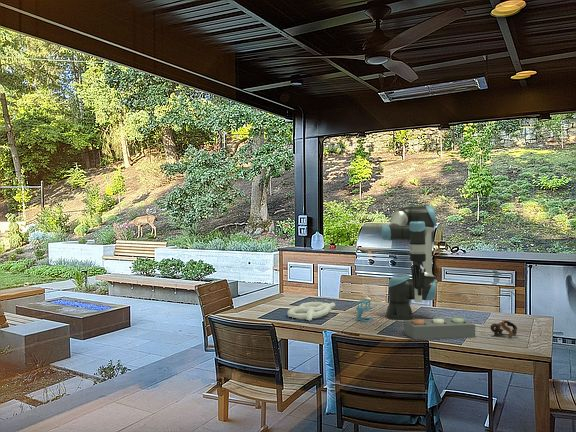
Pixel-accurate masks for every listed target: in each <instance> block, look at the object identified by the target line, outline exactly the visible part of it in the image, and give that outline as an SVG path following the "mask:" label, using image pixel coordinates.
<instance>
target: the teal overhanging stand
mask: <svg viewBox="0 0 576 432" xmlns="http://www.w3.org/2000/svg"><path fill="white" fill-rule="evenodd" d="M371 302H372V301H371V300H370V299H368V298H364V299H362V300H359V301H356V304H357V307H356V308H355V310H356V311H357V313H356V319H357V320H356V319H355V320H356V321H359V320H361V321H360V322H364V321H365V323H370V322H372V321H374V318H373V317H362V315H363V312H364V311H369V310H371V309H372V307H371ZM363 304H365V306H363ZM365 319H369V320H365ZM371 320H372V321H371ZM369 321H370V322H369Z"/></svg>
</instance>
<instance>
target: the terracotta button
mask: <svg viewBox="0 0 576 432" xmlns="http://www.w3.org/2000/svg"><path fill="white" fill-rule="evenodd" d="M412 320H413V324H414V325H424V320H425V319H419V318H415V319H412Z"/></svg>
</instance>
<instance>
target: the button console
mask: <svg viewBox="0 0 576 432" xmlns="http://www.w3.org/2000/svg"><path fill="white" fill-rule="evenodd" d="M443 319H444V324H434V323H433V319H423V320H424V325H414V324H413V320H414V319H408V320H403V333H404V334H405V335H407V336H408V337H409V338H411V339H412V340H414V339H423V340H439V339H443V340H444V339H446V338H447V339H465V338H467V339H468V338H476V324H475V323H473V322H471V321H468V320H467V319H466V320H465V319H464V323H453V318H443ZM447 339H446V340H447Z"/></svg>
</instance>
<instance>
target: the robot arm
mask: <svg viewBox="0 0 576 432" xmlns="http://www.w3.org/2000/svg"><path fill="white" fill-rule="evenodd" d="M436 218H437V217H436V211H435V208H434V206H433V205H432V206H431V205H415V206H413V205H412V206H409V205H408V206H404V207H400V208H398V209H397V210H395V211H393V212H392V214H391V216H390V222H389V224H388V225H382V227H381V239H382V240H384V241H409V246H408V249H409V261H410V262H412V265H411V266H410V269H411V270H410V271H411V278H410V276H408V275H407V276H406V275H403V276H395V277H391V278H390V279H389V280H388V286H387V287H388V306H387V309H386V313H385V317H386V319H389V320H395V321H396V320H397V321H398V320H399V321H407V320H413V318H414V312H413V310H412V307H411V303H410V301H411V300H414V302H415V303H423V301H434V300H435V298H436V295H437V287H438V280H437V279H435V275H434V274H433V271H432V266H433V264H432V262H433V260H432V257H433V256H432V252H433V251H432V233H433V231H434V229H435V227H437V226H438V225H437V219H436Z"/></svg>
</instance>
